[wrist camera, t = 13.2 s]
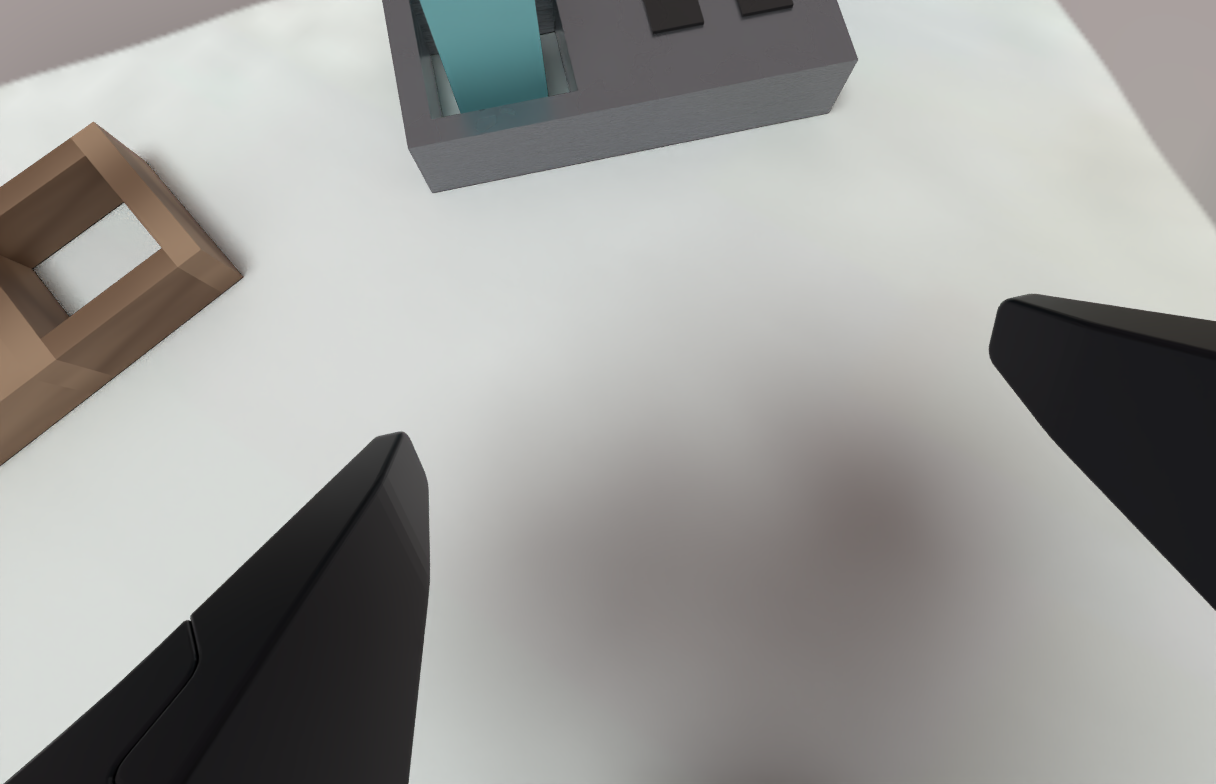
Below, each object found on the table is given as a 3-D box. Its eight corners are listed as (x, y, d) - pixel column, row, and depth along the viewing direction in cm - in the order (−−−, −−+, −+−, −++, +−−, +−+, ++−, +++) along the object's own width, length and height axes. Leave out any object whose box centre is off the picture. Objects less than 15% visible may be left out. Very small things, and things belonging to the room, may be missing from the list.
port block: (828, 112, 25) (859, 56, 22) (432, 192, 24) (406, 146, 21) (779, -32, 27) (802, -103, 24) (404, 40, 26) (376, -25, 23)
